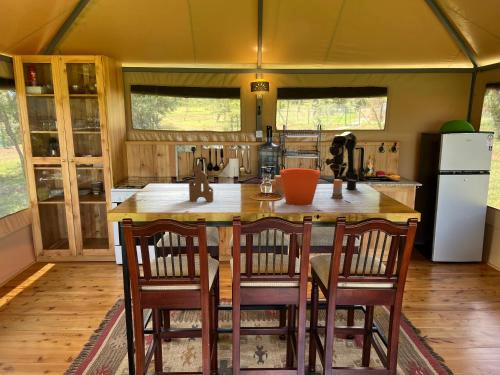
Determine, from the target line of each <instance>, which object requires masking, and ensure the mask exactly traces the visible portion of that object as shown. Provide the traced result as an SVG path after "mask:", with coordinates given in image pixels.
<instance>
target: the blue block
mask: <svg viewBox="0 0 500 375" xmlns="http://www.w3.org/2000/svg"><path fill="white" fill-rule="evenodd" d="M342 192H343V186H342V187H340V188H339V187H332V194H341V193H342ZM342 194H343V193H342Z"/></svg>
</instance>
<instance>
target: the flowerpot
mask: <svg viewBox="0 0 500 375" xmlns="http://www.w3.org/2000/svg"><path fill="white" fill-rule="evenodd" d="M321 172H322V171H321V170H317V169H313V168H300V167H299V168H283V169H280V170H279V175H281V180H282V185H283V190H284V194H283V195H284V199H285V203H286V204H287V205H291V206H302V207H303V206H304V207H305V206H310V205H312V204H313V201H314V197H315V194H316V190H317V187H318V183H319V180H320V176H321V174H322V173H321Z"/></svg>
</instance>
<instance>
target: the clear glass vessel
mask: <svg viewBox="0 0 500 375" xmlns="http://www.w3.org/2000/svg"><path fill="white" fill-rule="evenodd" d="M273 178H274V179H269V180H270V182H271V184H272V192H273V193H278V194H280V195H282V194H283V195H284V190H283V185H282V180H281V175H280V174H279V175H278V174H277V175H276V174H275V175H274V177H273ZM263 180H264V179H261V184H262V183H263Z"/></svg>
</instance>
